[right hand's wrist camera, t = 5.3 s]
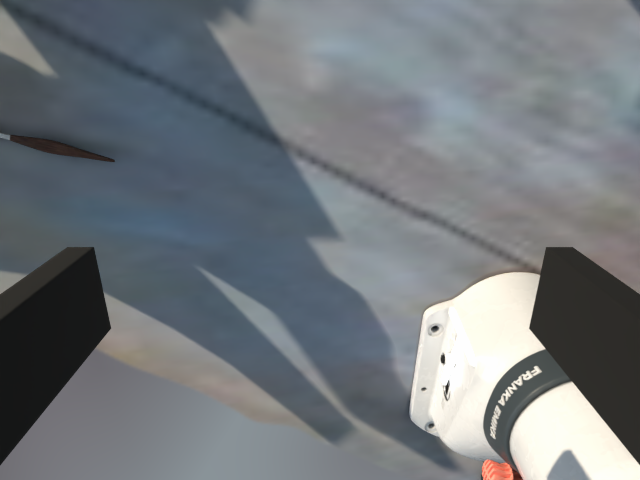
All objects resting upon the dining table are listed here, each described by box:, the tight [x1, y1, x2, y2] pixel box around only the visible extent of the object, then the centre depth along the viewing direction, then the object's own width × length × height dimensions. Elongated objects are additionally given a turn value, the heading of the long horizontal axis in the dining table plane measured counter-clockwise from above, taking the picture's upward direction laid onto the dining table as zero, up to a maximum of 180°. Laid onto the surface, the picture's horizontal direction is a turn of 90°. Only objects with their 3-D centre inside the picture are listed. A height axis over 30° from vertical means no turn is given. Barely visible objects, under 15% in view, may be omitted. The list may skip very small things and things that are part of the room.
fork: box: [0, 133, 115, 162], centre depth 38 cm, size 3×16×2 cm, turn 76°
